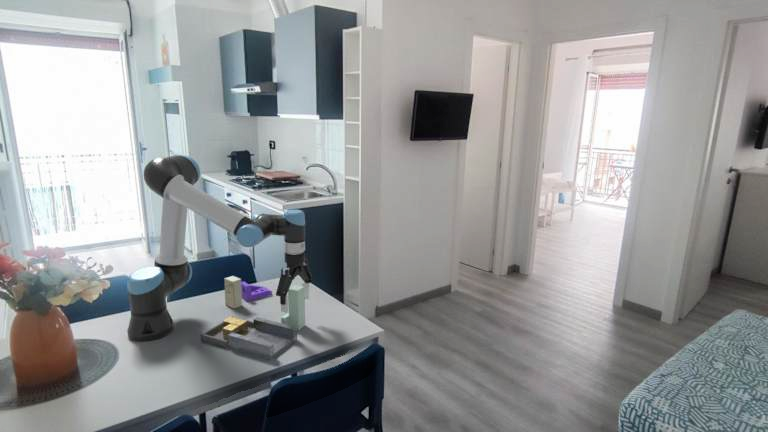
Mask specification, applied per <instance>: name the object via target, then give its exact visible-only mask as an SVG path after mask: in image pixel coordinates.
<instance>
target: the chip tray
mask: <svg viewBox="0 0 768 432" xmlns="http://www.w3.org/2000/svg"><path fill="white" fill-rule="evenodd" d="M231 317H235V318H239V319H243V320H246V321H248V331H250V330H252V329H253V328H254V320H249V319H245V318H240V317H237V316H233V315H232V316H231ZM223 328H224V327H223V321H222V322H220V323H218V324H217V325H214V326H213V327H211V328H209V329H208V330H206V331H204V332H202V333H200V341H201V342H205V343H208V344H211V345H214V346H219V347H221V348H225V349H229V344H228V340H227V339H224V338H223ZM248 331H247V332H248ZM247 332H245V333H247ZM245 333H244V334H245ZM244 334H242V335H244Z"/></svg>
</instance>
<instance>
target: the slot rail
mask: <svg viewBox="0 0 768 432" xmlns="http://www.w3.org/2000/svg"><path fill="white" fill-rule="evenodd" d="M253 322H254V328H253V329H252V330H250V331H248V332H247V333H245V334H244V335H240V334H236V333H230V334H229V335H228V344H229V347H228V349H231V350H235V351H238V352H242V353H245V354H249V355H252V356H255V357H258V358H263V359H266V360H269V361H272V360H273V359H274V358H276V357H277V356H278V355H279V354H280V353H283V351H284V350H286V349H288V348H289V347H290V346H292V344H294V343H296V342H297V340H298V330H297V327H294V326H290V325H286V324H282V323H281V322H279V321H274V320H270V319H266V318H261V317H258V316H256V317H255V318H254V319H253Z"/></svg>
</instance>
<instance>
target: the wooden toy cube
mask: <svg viewBox="0 0 768 432" xmlns="http://www.w3.org/2000/svg"><path fill="white" fill-rule="evenodd" d="M230 333H236V334H240V329H239V326H238V325H234V324H229V325H227V326H226V327H224V328H223V338H224V339H227V340H228V335H229V334H230Z"/></svg>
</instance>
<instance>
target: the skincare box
mask: <svg viewBox="0 0 768 432" xmlns="http://www.w3.org/2000/svg"><path fill="white" fill-rule="evenodd" d="M223 280H224V299H225V300H224V301H225V303H224V304H225V306H227V307H229V308H231V309H237V308H239V307H242V306H243V298H242V287H241V282H242V278H240V277H237V276H235V275H231V276H227V277H224V279H223Z"/></svg>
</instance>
